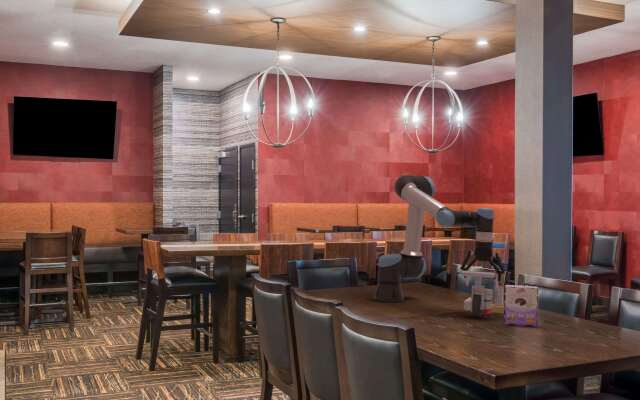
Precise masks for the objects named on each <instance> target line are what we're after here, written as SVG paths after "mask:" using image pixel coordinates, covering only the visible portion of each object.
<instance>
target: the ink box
mask: <svg viewBox="0 0 640 400" xmlns="http://www.w3.org/2000/svg"><path fill="white" fill-rule="evenodd" d="M493 291H494V289H490V288H485V287H484V309H483V310H482V315H481V316H490V315H491V316H492V315H493V313H492V304H493V294H494V293H493ZM475 294H478V295H481V289H480V288H475ZM470 313H471V314H472V308H471V311H470Z"/></svg>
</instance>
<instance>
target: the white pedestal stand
mask: <svg viewBox="0 0 640 400" xmlns="http://www.w3.org/2000/svg"><path fill="white" fill-rule="evenodd" d="M461 276H462V277H464V276H469V277H474V278H475V279H474V284H473V285H471V298H472V301H471V308H472V313H471V314H472V317H473V318H475V317H476V318H482V316H483V315H482V310H483V309H484V288H485V285H482V284H483V283H482V281H483V278H485V279H486V278H488V279H494V278H496V272H490V271H489V272H488V271H471V270H468V271H463V270H461V271H460V277H461ZM475 288H480V289H481V295H478V294H475Z"/></svg>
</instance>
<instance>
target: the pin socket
mask: <svg viewBox="0 0 640 400" xmlns="http://www.w3.org/2000/svg"><path fill="white" fill-rule="evenodd" d="M492 314H503V315H504V304H503V306H494V303H492Z"/></svg>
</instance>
